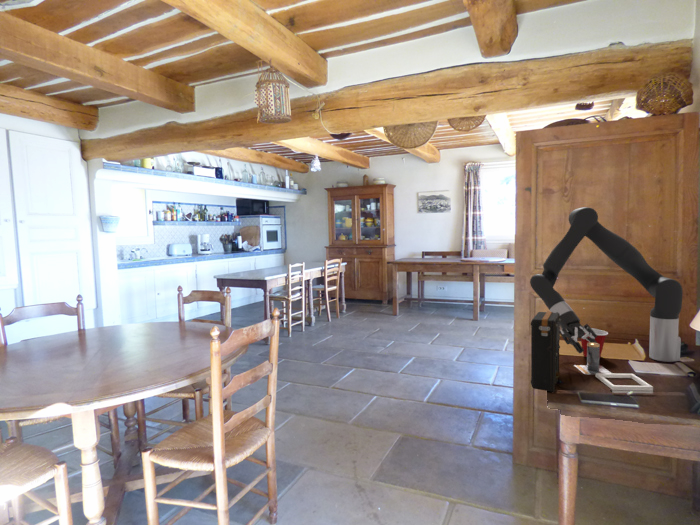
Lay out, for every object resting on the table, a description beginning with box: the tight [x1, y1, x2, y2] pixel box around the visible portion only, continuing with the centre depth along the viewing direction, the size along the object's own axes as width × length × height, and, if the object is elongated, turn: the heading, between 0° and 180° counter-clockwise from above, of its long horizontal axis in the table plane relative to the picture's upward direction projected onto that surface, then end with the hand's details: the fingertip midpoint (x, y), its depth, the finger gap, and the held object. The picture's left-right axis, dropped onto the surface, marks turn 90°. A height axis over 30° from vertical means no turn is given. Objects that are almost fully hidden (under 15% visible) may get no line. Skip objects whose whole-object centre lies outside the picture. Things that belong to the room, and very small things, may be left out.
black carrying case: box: [530, 310, 561, 393], centre depth 147 cm, size 16×9×25 cm, turn 148°
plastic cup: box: [580, 327, 609, 359], centre depth 173 cm, size 11×11×12 cm
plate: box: [573, 364, 612, 375], centre depth 158 cm, size 10×10×1 cm
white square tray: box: [595, 372, 654, 394], centre depth 144 cm, size 12×12×2 cm
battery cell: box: [586, 342, 600, 372], centre depth 157 cm, size 4×4×10 cm
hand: (589, 350), depth 158 cm, fingers open, 8 cm apart
